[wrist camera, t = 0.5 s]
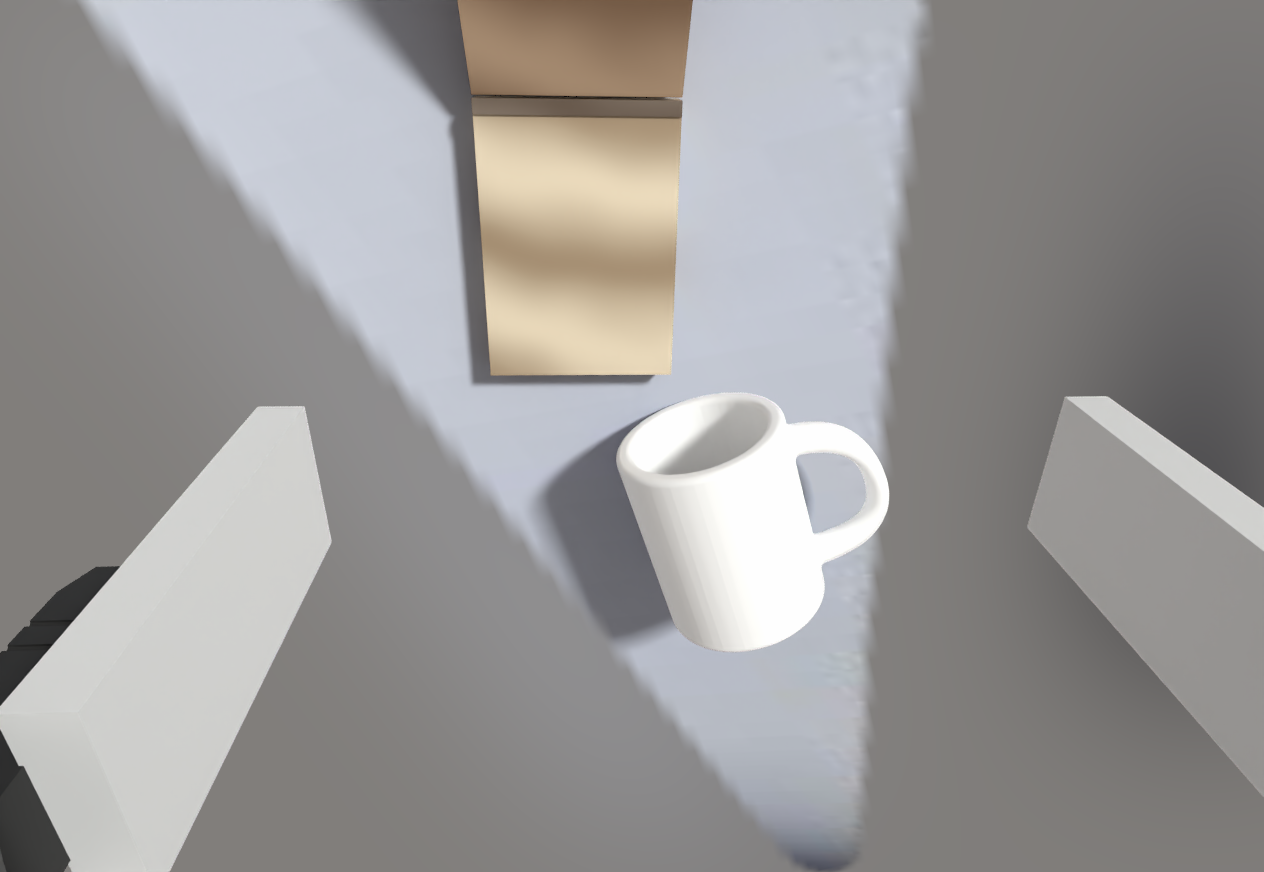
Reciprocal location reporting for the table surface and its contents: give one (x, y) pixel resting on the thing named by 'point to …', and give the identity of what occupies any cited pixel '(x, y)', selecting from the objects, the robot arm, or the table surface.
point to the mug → (739, 515)
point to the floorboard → (578, 232)
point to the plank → (576, 47)
